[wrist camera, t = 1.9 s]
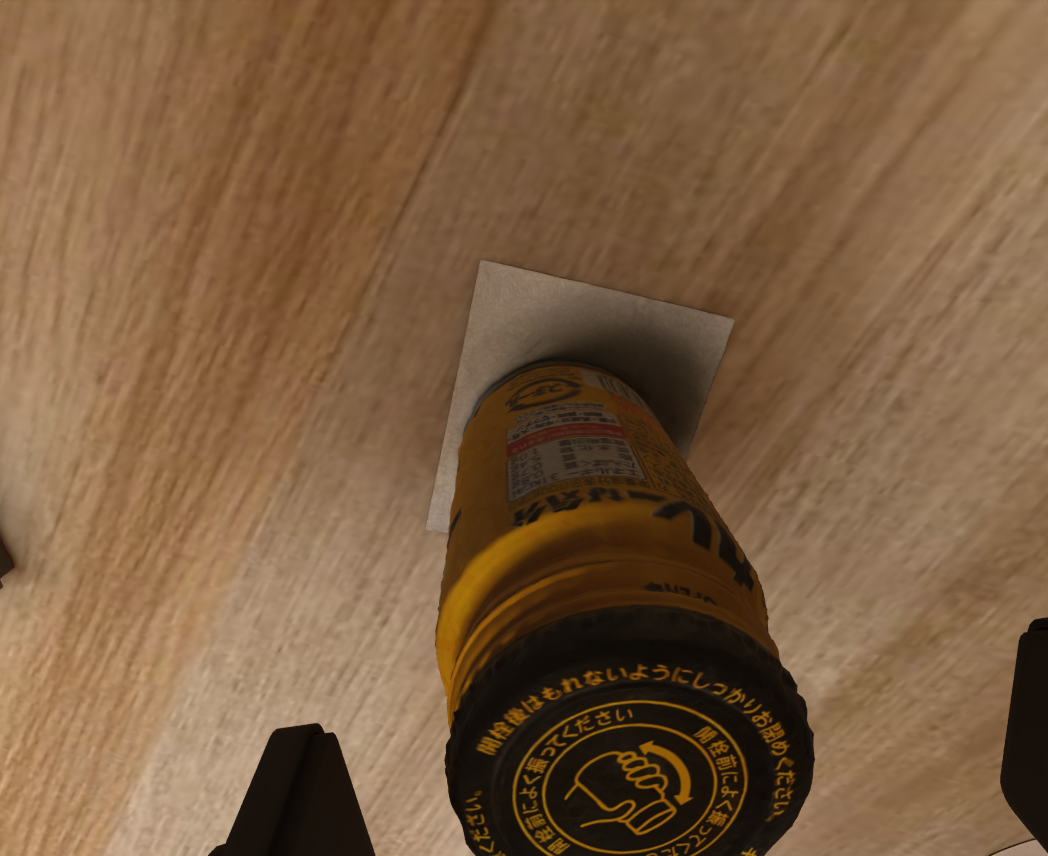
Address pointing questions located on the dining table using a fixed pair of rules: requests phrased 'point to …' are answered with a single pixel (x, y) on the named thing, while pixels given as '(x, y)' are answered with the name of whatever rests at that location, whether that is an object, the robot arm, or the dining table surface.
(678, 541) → the condiment
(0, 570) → the brown bar
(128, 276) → the dining table surface
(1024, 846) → the canister
